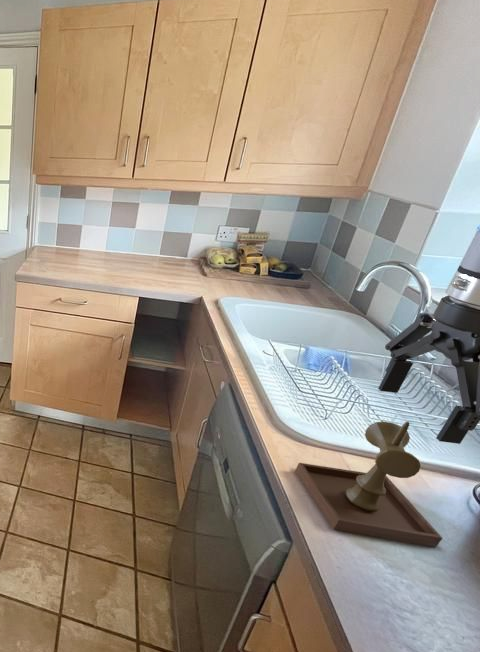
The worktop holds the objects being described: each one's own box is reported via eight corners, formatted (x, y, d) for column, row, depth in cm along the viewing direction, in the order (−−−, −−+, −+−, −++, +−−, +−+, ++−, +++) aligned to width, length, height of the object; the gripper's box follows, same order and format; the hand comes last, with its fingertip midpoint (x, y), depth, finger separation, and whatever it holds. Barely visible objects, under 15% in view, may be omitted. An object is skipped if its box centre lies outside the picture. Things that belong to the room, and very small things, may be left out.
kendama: (375, 492, 83) (423, 413, 75) (386, 528, 76) (440, 445, 68) (338, 479, 86) (379, 401, 78) (344, 512, 79) (391, 430, 71)
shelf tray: (381, 484, 86) (386, 475, 85) (436, 547, 74) (443, 538, 73) (294, 471, 89) (298, 462, 88) (333, 529, 77) (338, 520, 76)
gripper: (391, 273, 75) (346, 371, 84) (531, 338, 53) (449, 463, 61) (440, 276, 74) (389, 376, 82) (605, 345, 51) (510, 472, 60)
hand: (415, 413), depth 72 cm, fingers open, 13 cm apart
